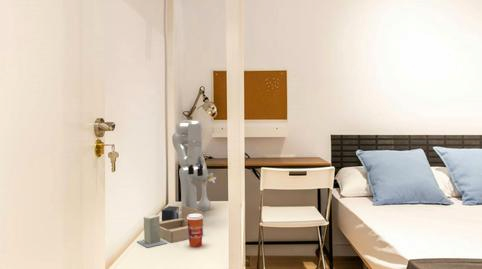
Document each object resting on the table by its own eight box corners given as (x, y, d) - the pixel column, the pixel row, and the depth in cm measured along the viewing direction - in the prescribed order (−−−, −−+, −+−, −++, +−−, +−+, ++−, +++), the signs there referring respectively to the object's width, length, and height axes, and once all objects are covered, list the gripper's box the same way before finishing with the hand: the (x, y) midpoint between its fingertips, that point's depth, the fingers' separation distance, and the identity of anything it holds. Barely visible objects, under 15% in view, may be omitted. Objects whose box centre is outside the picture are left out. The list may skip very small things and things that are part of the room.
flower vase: (190, 208, 255) (189, 172, 255) (217, 207, 256) (216, 171, 256) (188, 212, 242) (187, 174, 242) (216, 211, 243) (216, 173, 243)
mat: (137, 242, 178) (136, 241, 178) (156, 238, 185) (156, 237, 185) (147, 248, 169) (147, 247, 169) (167, 243, 175) (167, 242, 175)
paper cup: (188, 248, 167) (187, 217, 167) (186, 243, 175) (185, 213, 174) (205, 246, 169) (204, 216, 169) (202, 242, 177) (202, 212, 176)
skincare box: (155, 239, 181) (154, 214, 181) (160, 241, 178) (159, 215, 178) (143, 242, 176) (143, 216, 176) (149, 244, 173) (148, 218, 173)
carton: (152, 233, 194) (151, 210, 194) (182, 227, 205) (182, 205, 204) (171, 242, 177) (170, 217, 176) (203, 235, 188) (202, 211, 187)
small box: (172, 229, 201) (172, 210, 201) (161, 228, 202) (160, 209, 202) (179, 224, 212) (179, 206, 211) (168, 224, 213) (168, 205, 213)
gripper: (181, 144, 212) (182, 174, 212) (197, 145, 198) (197, 177, 199) (192, 144, 217) (193, 173, 217) (208, 144, 203) (209, 175, 203)
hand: (195, 175), depth 208 cm, fingers open, 9 cm apart
